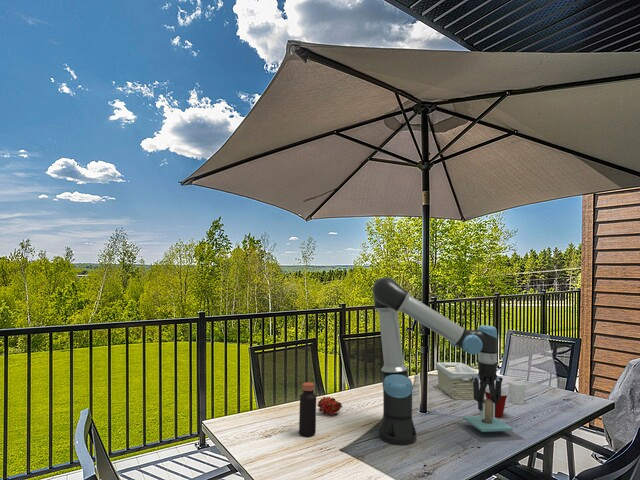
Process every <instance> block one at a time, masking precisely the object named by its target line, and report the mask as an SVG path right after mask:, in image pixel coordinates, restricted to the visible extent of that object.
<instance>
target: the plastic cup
mask: <svg viewBox="0 0 640 480" xmlns="http://www.w3.org/2000/svg"><path fill="white" fill-rule="evenodd" d="M508 396H509V392H507V391H506V390H503V389H501V401H498V403H496V410H495V418H497V419H499V418H502V417H503V416H504V411H505V406H506V402H507V398H508ZM485 399H489V400H491V397H490V391H489V387H486V390H485Z"/></svg>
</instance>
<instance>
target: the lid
mask: <svg viewBox="0 0 640 480" xmlns="http://www.w3.org/2000/svg"><path fill="white" fill-rule="evenodd" d="M483 403H485V419H482V418H480V417H479V416H480V415H468V416H467V415H466V416H464V415H463V416H462V419H463V420H464V421H465V422H469V423H470V424H471V425H473V426H474V427H476V428H477V429H479V430H480V431H481V432H488V431H513V432H514V430H513V427H512V426H510V425H508V424H507V423H505V422H503V421H502V420H500V419H499V418H497V417H495V419H492V400H489V399H486V398H484V401H483Z"/></svg>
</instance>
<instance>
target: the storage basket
mask: <svg viewBox="0 0 640 480" xmlns="http://www.w3.org/2000/svg"><path fill="white" fill-rule="evenodd" d="M435 367H436V371H437V381H438V388H439V389H441V390H442V391H443V392H444V393H445V394H446V396H449V397H450V398H451V399H453V400H473V401H474V392H473V380H472V377H476V376H478V373H479V371H477V370H475V369H474V368H472V367H470V366H469V365H467V364H465V363H463V362H454V361H453V362H452V361H451V362H450V361H448V362H447V361H445V362H436V366H435ZM448 368H454V370H451V369H448Z"/></svg>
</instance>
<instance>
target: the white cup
mask: <svg viewBox="0 0 640 480" xmlns="http://www.w3.org/2000/svg"><path fill="white" fill-rule="evenodd" d="M508 396H509V402H510V403H512V404H515V405H524V404H525V397H526V383H525V382H522V381H517V380H510V381H508Z"/></svg>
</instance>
